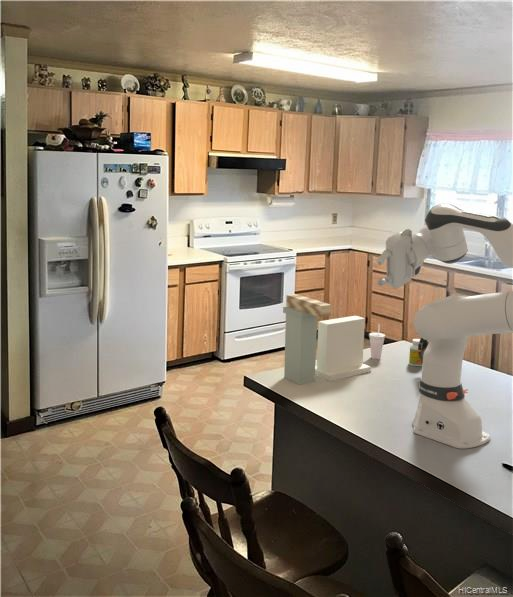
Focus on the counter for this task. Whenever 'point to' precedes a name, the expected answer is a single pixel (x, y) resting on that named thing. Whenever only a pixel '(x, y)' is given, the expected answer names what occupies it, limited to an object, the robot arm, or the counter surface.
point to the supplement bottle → (414, 353)
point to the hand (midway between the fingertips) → (378, 273)
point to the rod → (308, 305)
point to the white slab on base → (340, 348)
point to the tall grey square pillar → (300, 346)
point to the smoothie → (376, 344)
